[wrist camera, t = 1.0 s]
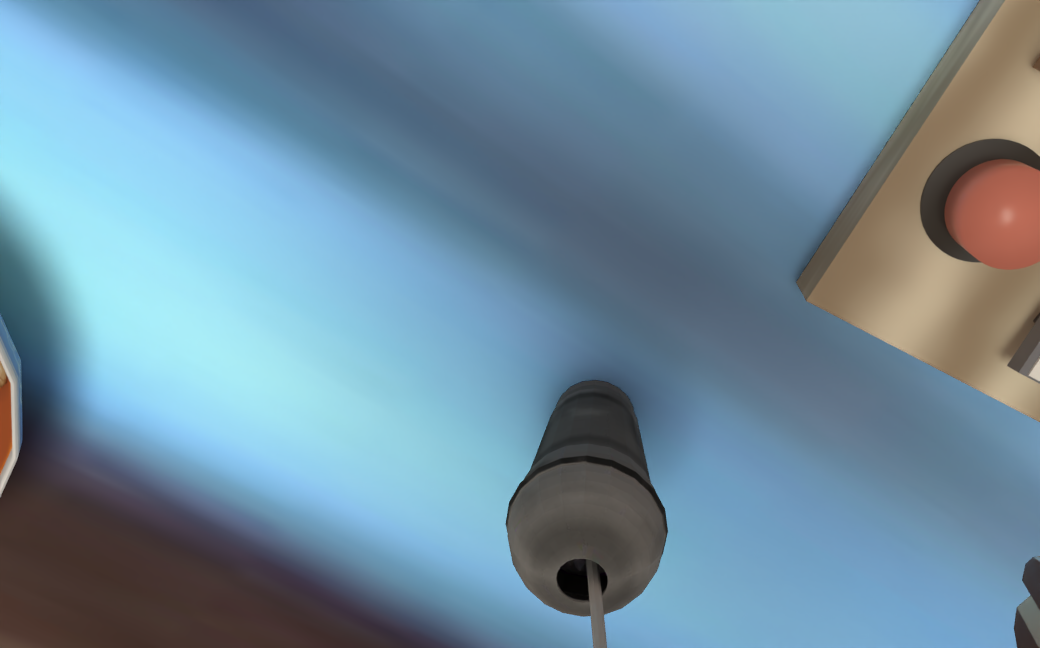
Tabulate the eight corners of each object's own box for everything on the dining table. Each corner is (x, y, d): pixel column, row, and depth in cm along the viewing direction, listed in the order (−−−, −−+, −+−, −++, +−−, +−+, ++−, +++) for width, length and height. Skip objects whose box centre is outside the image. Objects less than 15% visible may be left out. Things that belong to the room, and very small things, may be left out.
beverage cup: (580, 331, 51) (553, 534, 32) (686, 406, 52) (719, 645, 33) (505, 426, 54) (439, 664, 35) (607, 496, 54) (596, 765, 36)
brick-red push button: (1068, 187, 42) (1093, 199, 39) (1006, 270, 43) (1027, 286, 41) (983, 141, 41) (1004, 150, 39) (924, 227, 43) (940, 240, 41)
